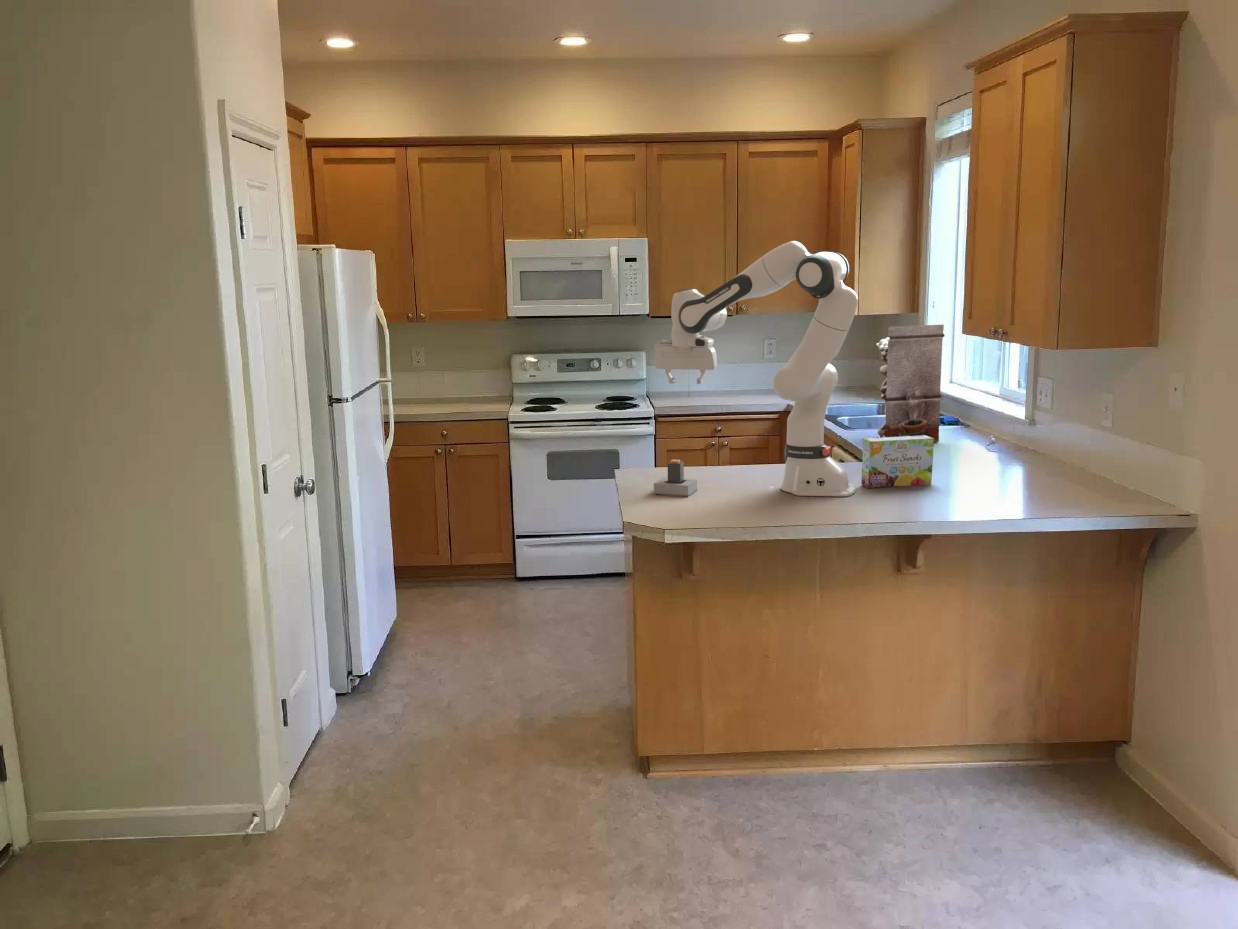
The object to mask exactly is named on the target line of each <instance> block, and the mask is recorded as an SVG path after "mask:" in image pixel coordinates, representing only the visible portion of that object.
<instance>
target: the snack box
mask: <svg viewBox="0 0 1238 929" xmlns="http://www.w3.org/2000/svg"><path fill="white" fill-rule="evenodd" d="M863 438H864V439H863ZM863 438H862V440H863V441H862V461H861V462H862V463H861V481H860V484H861V485H862V486H863V487H865V486H866V487H865V488H866V489H875V488H874V487H881V488H892V487H891V486H899V487H914V485H915V486H928V485H929V484H930V485H932V479H933V478H932V477H933V476H932V475H933V463H934V462H933V461H934V447H935V446H934V445H935V442H934V438H931V437H929V436H925V435H923V436H903V437H883V438H872V437H863ZM930 485H929V486H930ZM889 486H890V487H889Z"/></svg>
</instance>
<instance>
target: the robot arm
mask: <svg viewBox="0 0 1238 929" xmlns="http://www.w3.org/2000/svg"><path fill="white" fill-rule="evenodd" d="M849 273H850V264H849V261H848V259H847V258H846V256H844V255H843V254H841V253H839V252H837V251H834V250H833V251H832V250H831V251H830V250H828V251H826V250H825V251H815V252H813V253H811V252H809V251H808V250H807V248H806V247H805V246H804V245H803V244H802V243H801V242H800V241H796V240H791V241H788V242H785V243H783V244H780V245H778V246H777V247H775V248H773V249H771V250H770V251H768V252H766V253H765V254H764V255H762V256H761V257H759V258H758V259H757V260H756V261H754V262H753V263H752V264H750V265H749V266H748V267H746V268H745V269H744V270H743V271H741V272H740V273H738V274H737V275H736V276H734V277H733V278H732V279H730V280H729V281H727V282H725V283H723V284H722V285H721V286H719V287H717V288H715V289H714V290H712V291H711V292H709V293H708V294H706V295H705V294H703V293H701V292H699V290H698V289H696V288H686V289H681V290H677V291H676V292H674V294H673V296H672V299H671V310H670V311H671V312H670V313H671V320H672V321H671V322H672V328H671V339H670V340H662V339H661V340H659V341H656V343H655V344H654V352H655V357H654V367H655V368H656V369H657V370H665V372H664V373H665V374H666V376H667V377H668V383H669V384H675V382H676V379H675V377H673V375H672V372H673V370H687V371H688V370H692V371H695V370H696V371H699V374H700V376H699V377H697V378H696V384H697V385H702V384H703V382H704V381H703V380H704V377H705V375H706V373H707V371H714V370H715V369H716V368H717V367H718V358H717V351H716V349H715V347H714V343H715V341H714V338H711V337H708V336H704V335H702V334H700V333H702V332H710V331H716V330H718V329H721V328H722V327H723V326H725V324H726V322H727V320H728V310H727V308H728V307H730V306H732V305H733V304H735V303H738V302H740V301H744V300H747V299H755V298H761V297H766V296H768V295H771V294H773V293H776V292H777V291H780V290H781V289H783V288H784V287H786V286H787V285H788V284H790V283H791V282H793V281H795V280H796V283H797V284H798V285H799V287H800V288H802V289H803V290H805V292H807V293H809V295H810V296H811V297H812V298H814V299H816V300H818V304H817V307H816V309H815V311H814V314H813V316H812V318H811V320H810V323H809V326H808V328H807V330H806V332H805V334H804V336H803V338H802V340H801V342H800V343H799V345H798V347H797V348H796V350H795V351H794V353H793V354H792V355H791V357H790V358H789V359H788V361H787V362H786V364H785V365H783V367H781V368H780V369H779V370H778V371H777V372H776V373H775V375H774V377H773V379H772V380H773V381H772V385H773V386H772V387H773V390H774V392H775V394H776V395H777V396H778V397H779V398H780V399H782V400H785V401H789V402H794V404H793V407H792V410H791V412H790V413H789V415H788V416H787V421H786V443H785V446H784V462H785V467H784V474H783V479H782V483H781V486H780V489H781V490H782V491H784V492H787V493H790V494H793V495H795V496H803V497H805V496H807V497H808V496H810V497H849V496H852V495H853V493H854V494H855V493H856V491H857V489H856V488H857V487H856V485H855V484H852V483H850V482H849V475H848V471H847V470H846V468H845V467H844V466H842V465H841V464H840V463H838V462H837V461H836V460H834V458H832V457H831V446H830V445H827V444H825V443H824V440H825V438H824V434H825V417H826V412H827V408H828V405H829V402H830V398H831V395H832V393H833V391H834V389H835V388H836V387H837V384H838V381H839V373H838V371H837V370H836V367H834V365H832V364H831V362H832V361H833V360H834V359H835V358H836V357H837V356H838V354H839V353H840V352H841V351H840V350H841V348H842V346H843V344H844V341H845V340H846V338H847V336H848V333H849V331H850V329H851V326H852V324H853V320H854V318H855V315H856V311H857V307H858V302H859V297H858V294H857V293H856V292H855V291H854V290H853V289H852V288H851V287H849V286H847V285H845V284H844V282H845V281H846V279H847V278H848V276H849Z"/></svg>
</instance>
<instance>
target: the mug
mask: <svg viewBox="0 0 1238 929" xmlns="http://www.w3.org/2000/svg"><path fill="white" fill-rule="evenodd" d="M926 423H927V421H926V420H924V419H910V420H906V421H904V422H903V423H901V424H900V427H899V426H891V425H886V426H885V429H886V430H889V431H890V434H891V437H896V436H895V433H894V430H898V431H900V433H901V434H899V437H903V436H923V435H924V434H925V426H926Z"/></svg>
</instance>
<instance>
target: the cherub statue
mask: <svg viewBox="0 0 1238 929" xmlns="http://www.w3.org/2000/svg"><path fill="white" fill-rule="evenodd" d="M944 327H945V325H944V324H924V325H923V324H922V325H899V326H898V325H897V326H896V325H895V326H888V336H887V337H886V338H882V339H881V340H879V342H877V343H876V347H877V348H878V350H879V353H880V356H881V360H882V361H884V362H885V363H886V364H884V365H881V366H880V368H879V372H880V373H881V374H882V375H883V376H885V377H886V379H885V380H884V381H883V382H882V384H881V387H880V390H879V391H880V393H881V397H880V398H881V399H883V400H884V403H885V405H884V409H883V410H884V415H885V421H884V423H883V424H882V425H881V427H879V429H878V430H877V434H878V437H880V438H883V437H891V434H890V431H889V430H886V429H885V426H886V425H891V426H899V427H900V424H901V423H903V422H904V421H906V420H910V419H924V420H926V421H927V423H926V426H925V434H924V435H925V436H929V437H931V438H934V443H939V442H940V440H939V439H940V434H939V433H940V421H941V419H940V418H941V417H940V416H941V413H940V410H941V399H942V394H941V386H942V383H941V378H942V377H941V376H942V360H943V359H942V355H943V354H942V353H943V339H944V337H945V334H944ZM894 433H895V436H896V437H899V434H901V433H900V431H898V430H894Z"/></svg>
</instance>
